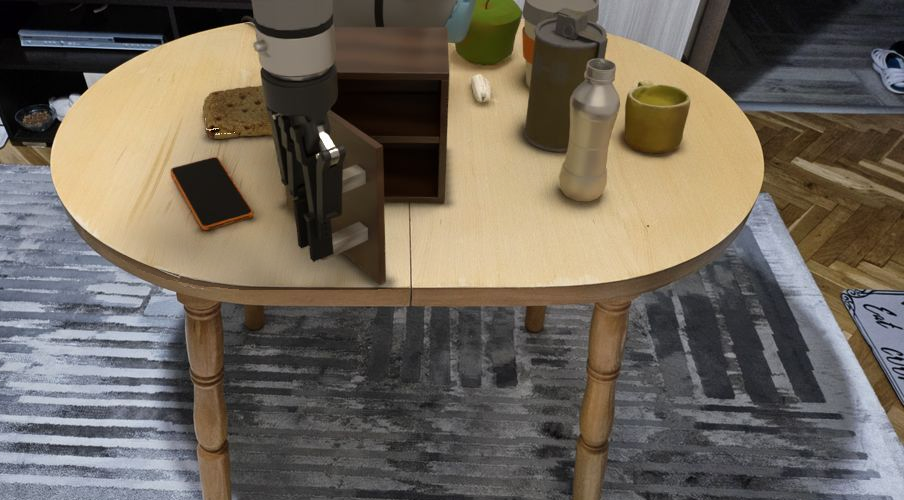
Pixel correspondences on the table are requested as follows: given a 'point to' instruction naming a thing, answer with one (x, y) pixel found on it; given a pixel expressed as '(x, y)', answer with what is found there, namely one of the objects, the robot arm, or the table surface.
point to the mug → (655, 117)
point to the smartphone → (211, 193)
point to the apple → (490, 32)
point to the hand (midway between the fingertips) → (315, 249)
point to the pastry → (237, 113)
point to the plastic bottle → (590, 132)
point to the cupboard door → (359, 200)
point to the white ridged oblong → (481, 88)
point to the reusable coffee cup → (540, 8)
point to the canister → (559, 74)
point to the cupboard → (398, 103)
